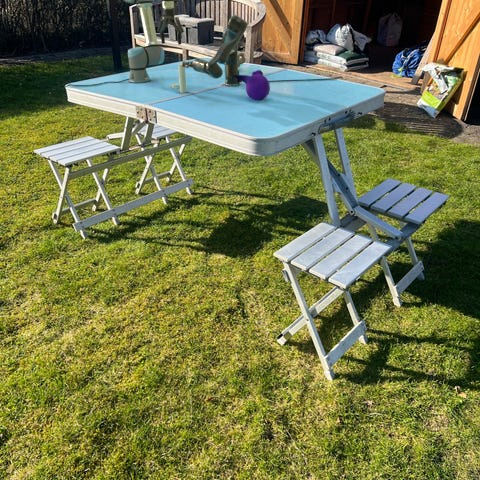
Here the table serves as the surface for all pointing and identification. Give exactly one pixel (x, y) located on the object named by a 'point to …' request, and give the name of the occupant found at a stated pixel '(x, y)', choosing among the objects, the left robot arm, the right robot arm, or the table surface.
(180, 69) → the pale green cylinder
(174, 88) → the lid
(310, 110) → the table surface
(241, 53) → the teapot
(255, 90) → the toy
